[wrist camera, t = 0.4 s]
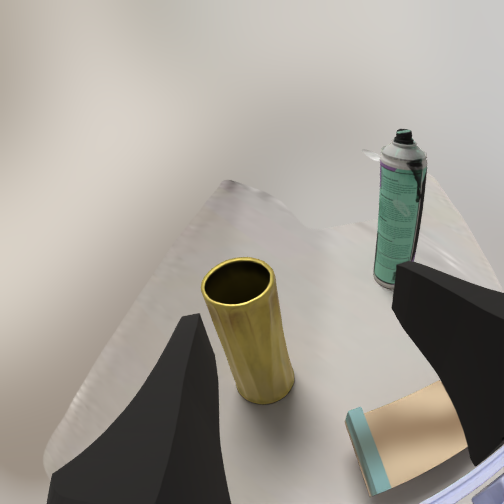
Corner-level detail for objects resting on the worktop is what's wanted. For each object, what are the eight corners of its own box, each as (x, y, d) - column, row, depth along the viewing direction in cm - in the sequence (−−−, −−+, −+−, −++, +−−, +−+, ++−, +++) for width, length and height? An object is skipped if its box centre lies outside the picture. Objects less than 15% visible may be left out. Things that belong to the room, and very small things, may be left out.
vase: (294, 404, 25) (280, 309, 17) (232, 404, 26) (184, 313, 18) (294, 354, 30) (281, 249, 22) (239, 356, 31) (204, 256, 23)
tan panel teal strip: (469, 445, 14) (483, 435, 12) (369, 497, 13) (377, 494, 12) (437, 383, 19) (447, 368, 18) (344, 422, 19) (348, 411, 18)
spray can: (417, 276, 36) (437, 133, 24) (393, 295, 34) (411, 139, 23) (389, 258, 40) (398, 122, 28) (365, 274, 38) (369, 128, 27)
